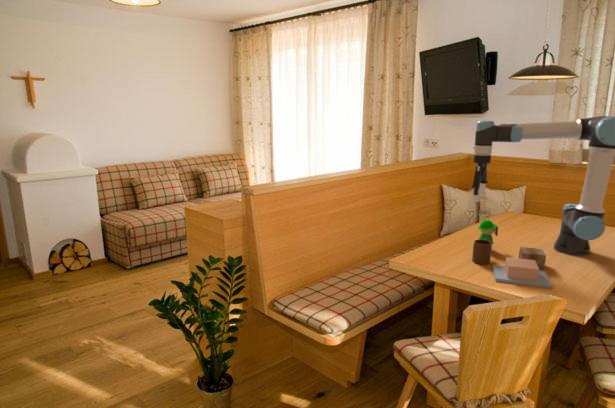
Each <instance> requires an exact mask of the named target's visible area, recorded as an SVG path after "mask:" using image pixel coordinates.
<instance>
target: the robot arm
mask: <svg viewBox="0 0 615 408" xmlns="http://www.w3.org/2000/svg"><path fill="white" fill-rule="evenodd" d="M474 135H475V138H474V147H473V150H474V152H473V153H474V155H473V160H472V161H473V163H474V164H477V165H476V166H475V172H474V177H473V182H472V185H471V188H472V189H473V190H472V202H473V203H479V202H480V197H482V198H485V195H486V186H487V184H488V182H489V181H488V169H487V168H488V164H491V160H492V156H491V154H492V150H493V142H494V143H520V142H521V141H522V140H544V139H546V140H547V139H575V140H576V141H589V142H588V148H589V149H590V151H591V152H590V155H589V160H588V165H587V169H586V174H585V176H584V182H583V186H582V191H581V194H580V198H579V199H580V200H579V203H566V204H564V205H563V209H562V215H561V217H562V218H561V223H560V231H559V234H558V236H557V238H556V240H555V242H554V244H553V249H554V250H556V251H557V252H560V253H564V254H567V255H573V256H587V255H591V254H590V253H591V245H590V242H589V241H594V240H596V239H598V238H600V237H601V236H603V234H604V233H605V230H606V225H605V222H604V218H605V214H606V211H605V209H604V208H603V205H604V201H605V196H606V192H607V188H608V185H609V179H610V176H611V172H612V168H613V165H614V164H613V163H614V159H615V116H614V115H599V116H592V117H587V118H577V119H576V120H574V121H573V120H571V121H570V120H569V121H553V122H527V123H510V124H509V123H508V124H507V123H502V124H499V125H496V124H495V121H494V120H479V121H477V122H476V128H475V134H474Z"/></svg>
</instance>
